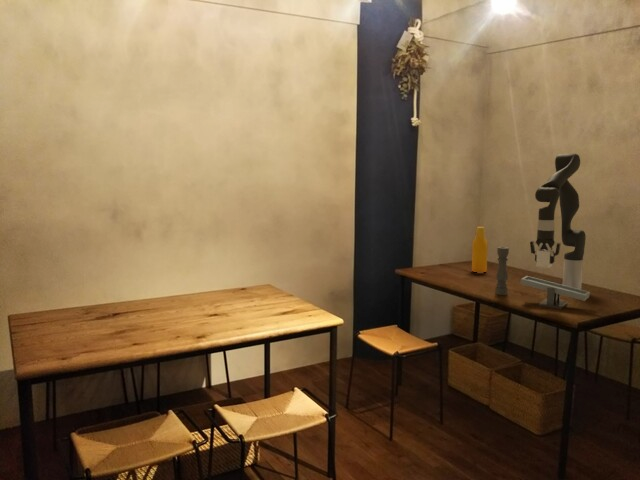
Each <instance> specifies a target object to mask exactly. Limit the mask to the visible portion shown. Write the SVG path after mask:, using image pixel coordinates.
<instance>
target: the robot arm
mask: <svg viewBox="0 0 640 480" xmlns="http://www.w3.org/2000/svg"><path fill="white" fill-rule="evenodd" d="M554 166H555V172H554V173H553V174H552V175H550V177H549V178H548V180H546V182H545V183H543V184H541V185H540V186H539V187H537V189H536V191H535V194H534V197H535V200H536V201H537V202H540V203H549V204H548V206H542V207H540V208H539V209H538V220H537V227H536V229H537V232H536V234H537V235H536V240H531V241H530V242H529V244H530V253H531V254H533V255H534V261H535V262H536V261H537V250H544V249H545V250H549V251H551V264H552V265H553V264H554V263H555V259H556V258H555V257H556V256H558V255H560V250H561V245H562V244H563V246H565V247H572V248H573V247H574V250H572V251H569V252H566V253H564V255H563V271H562V273H563V274H562V285H565V286H569V287H573V288H577V289H581V290H582V282H583V281H582V278H583V277H582V276H583V262H584V254H585V246H586V238H587V237H586V232H585V231H584V230H583V229H582V230H581V229H572V228H571V227H572V226H571V225H572V224H571V223H572V221H573V218H574V217H575V215H576V214H577V212H578V211H579V209H580V196H579V194H578V191H577V190H576V188H575V187H574V186H573V184H571V182H570V181H569V180H568V179H570V178H571V177H572V176H573V175H574V174H575V173H576V172H578V170H579V168H580V166H581V158H580V156H579V155H578V154H577V153H560V154H557V155H556V156H555V159H554ZM558 202H559V207H560V217H561V241H562V244H561V242H556V241H555V240H554V239H555V212H556V207H557V204H558ZM535 245H537V246H538V247H537V249H536V250H535ZM554 246H555V251H554V248H553V247H554Z"/></svg>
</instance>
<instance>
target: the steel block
mask: <svg viewBox="0 0 640 480" xmlns="http://www.w3.org/2000/svg"><path fill="white" fill-rule="evenodd" d="M536 250H537V249H536ZM535 263H536V264H535V265H536V268H537V267H538V268H547V269H550V268H551V267H553V264H551V251H549V250H545V249H544V250H537V261H535Z"/></svg>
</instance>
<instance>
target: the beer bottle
mask: <svg viewBox="0 0 640 480" xmlns="http://www.w3.org/2000/svg"><path fill="white" fill-rule="evenodd" d="M485 233H486V232H485V227H484V226H477V228H476V233H475V234H476V235H475V237H474V239H473V241H472V250H471V255H472V257H471V272H472V271H474V272H486V271H487V272H488V241H487V239H486V236H485V235H486V234H485ZM487 272H486V273H487Z"/></svg>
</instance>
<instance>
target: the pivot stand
mask: <svg viewBox="0 0 640 480" xmlns="http://www.w3.org/2000/svg"><path fill="white" fill-rule="evenodd" d="M554 291H555V289H552V288H548V289H547V291H546V292H547V293H546V297H545V298H544V299H543V300H541V301H540V302H539V303H538V306H540V307H545V308H552V309H558V310H561V309H563V308H564V307H565V306H566V305H567V304H568V301H567V300H566V301H565V300H562V299H560V297H561V295H560V294H556V293H554Z"/></svg>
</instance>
